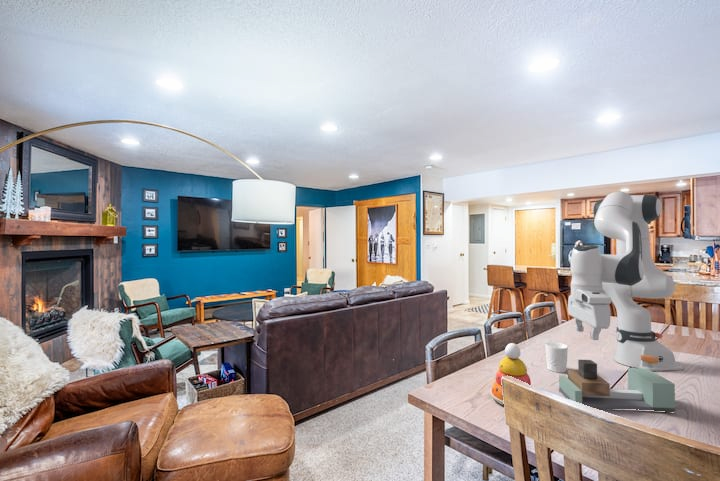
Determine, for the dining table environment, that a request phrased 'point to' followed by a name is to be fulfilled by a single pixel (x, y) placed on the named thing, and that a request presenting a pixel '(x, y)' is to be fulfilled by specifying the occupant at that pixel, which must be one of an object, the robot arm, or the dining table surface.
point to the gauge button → (649, 360)
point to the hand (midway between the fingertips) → (586, 335)
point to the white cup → (556, 356)
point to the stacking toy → (509, 371)
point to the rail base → (628, 393)
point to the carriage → (589, 379)
